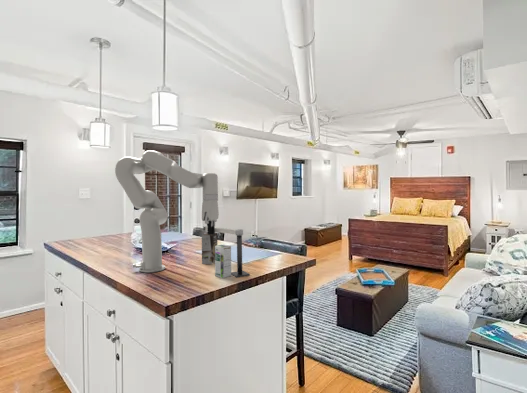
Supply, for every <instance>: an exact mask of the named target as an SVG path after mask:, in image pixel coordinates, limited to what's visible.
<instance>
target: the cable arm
mask: <svg viewBox="0 0 527 393" xmlns="http://www.w3.org/2000/svg"><path fill="white" fill-rule="evenodd" d="M202 231H204V232H205V231H206V232H208V227H207V225H206V226H203V227H202ZM215 233H221V234H230V235H235V236H237V235H242V236H243V235H244V229H234V228H227V227H226V228H224V227H216V226H215Z"/></svg>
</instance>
